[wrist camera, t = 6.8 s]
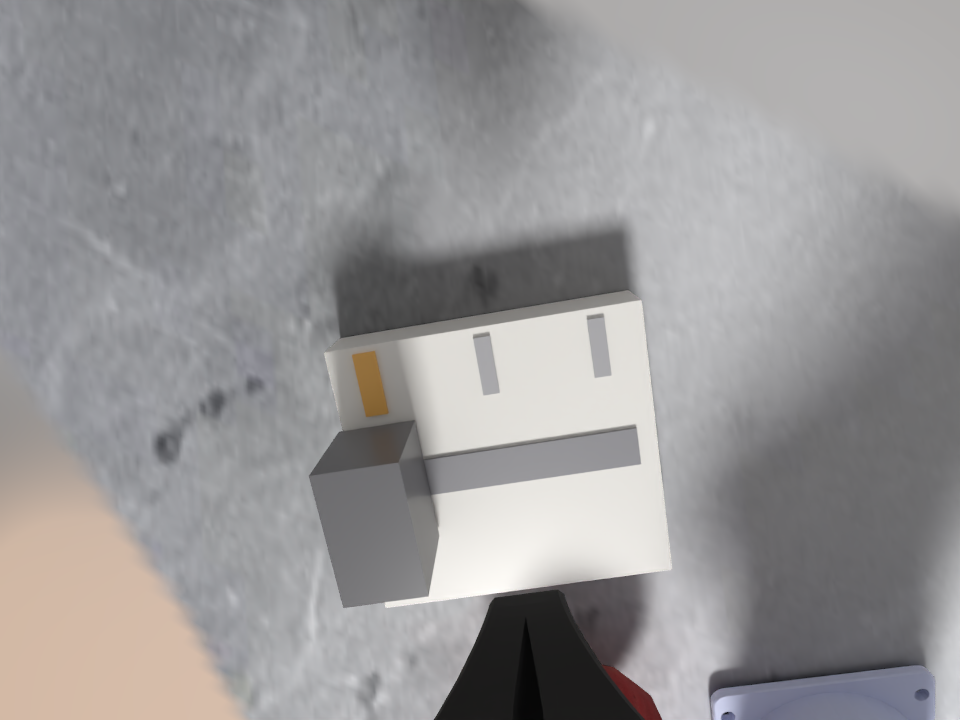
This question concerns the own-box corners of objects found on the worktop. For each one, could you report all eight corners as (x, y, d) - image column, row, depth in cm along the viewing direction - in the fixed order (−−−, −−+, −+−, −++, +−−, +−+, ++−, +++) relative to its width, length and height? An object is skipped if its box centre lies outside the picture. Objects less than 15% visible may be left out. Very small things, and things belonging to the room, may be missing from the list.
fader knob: (439, 535, 20) (428, 596, 17) (367, 545, 21) (343, 608, 18) (414, 419, 19) (398, 462, 16) (339, 432, 20) (308, 476, 17)
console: (657, 537, 23) (673, 571, 21) (395, 573, 23) (385, 609, 21) (628, 290, 20) (642, 300, 18) (339, 338, 21) (322, 353, 19)
